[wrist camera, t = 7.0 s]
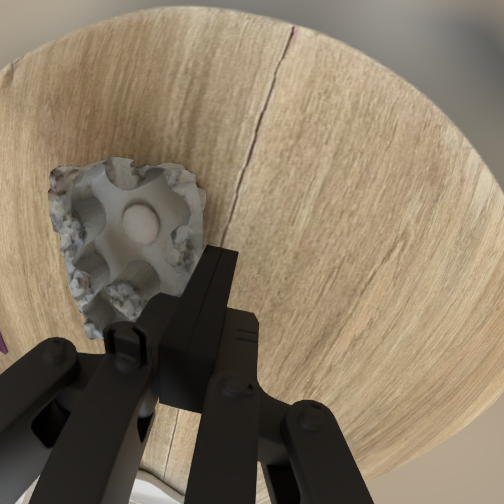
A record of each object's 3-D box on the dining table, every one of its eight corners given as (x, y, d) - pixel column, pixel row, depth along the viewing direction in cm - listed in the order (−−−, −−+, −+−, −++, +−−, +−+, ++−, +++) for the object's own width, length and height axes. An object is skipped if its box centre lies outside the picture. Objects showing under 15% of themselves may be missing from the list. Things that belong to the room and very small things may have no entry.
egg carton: (93, 149, 12) (44, 157, 9) (226, 167, 13) (210, 180, 9) (94, 310, 17) (65, 346, 13) (197, 339, 17) (183, 387, 13)
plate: (59, 441, 31) (53, 454, 28) (152, 464, 28) (147, 483, 25) (120, 486, 39) (117, 497, 36) (205, 501, 36) (203, 514, 33)
